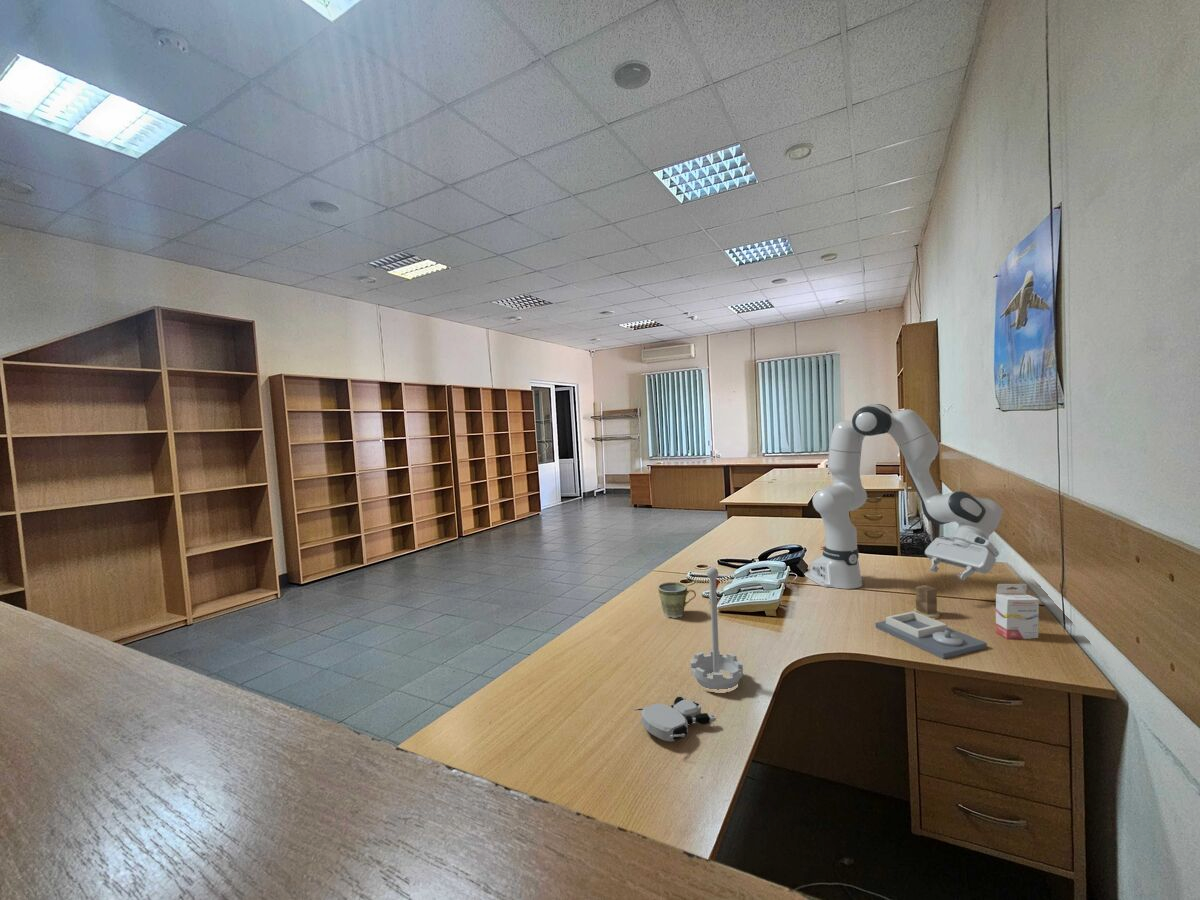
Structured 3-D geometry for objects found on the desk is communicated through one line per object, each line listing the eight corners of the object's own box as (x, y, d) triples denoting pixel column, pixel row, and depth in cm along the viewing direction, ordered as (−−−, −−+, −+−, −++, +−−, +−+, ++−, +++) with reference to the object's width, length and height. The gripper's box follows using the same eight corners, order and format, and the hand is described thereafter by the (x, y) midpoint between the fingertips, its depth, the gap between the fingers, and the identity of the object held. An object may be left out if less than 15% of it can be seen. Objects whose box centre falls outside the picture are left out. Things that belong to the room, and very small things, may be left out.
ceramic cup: (656, 618, 169) (654, 590, 168) (663, 608, 178) (662, 581, 177) (693, 622, 164) (692, 593, 163) (699, 611, 173) (698, 583, 172)
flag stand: (734, 701, 118) (729, 578, 116) (683, 688, 125) (678, 571, 123) (749, 675, 129) (745, 563, 127) (701, 665, 136) (697, 558, 134)
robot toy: (681, 706, 118) (631, 726, 110) (681, 688, 118) (631, 706, 110) (719, 732, 108) (668, 756, 100) (719, 711, 108) (668, 734, 100)
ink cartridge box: (1007, 639, 141) (1007, 589, 140) (995, 632, 146) (994, 583, 145) (1039, 639, 140) (1039, 588, 139) (1026, 632, 145) (1026, 582, 144)
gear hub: (908, 612, 163) (908, 586, 162) (924, 609, 165) (924, 583, 164) (928, 620, 156) (927, 592, 156) (944, 617, 158) (944, 589, 158)
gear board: (875, 627, 153) (875, 614, 153) (915, 618, 158) (914, 605, 158) (943, 659, 132) (943, 643, 132) (986, 648, 137) (986, 632, 137)
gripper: (933, 529, 174) (912, 560, 172) (994, 542, 154) (972, 577, 152) (942, 540, 175) (922, 571, 173) (1004, 554, 156) (982, 589, 154)
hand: (946, 574), depth 162 cm, fingers open, 8 cm apart
